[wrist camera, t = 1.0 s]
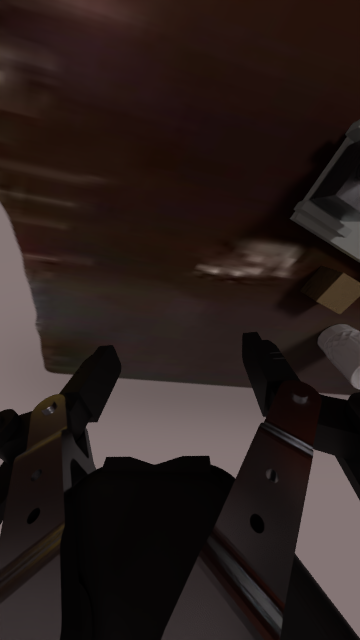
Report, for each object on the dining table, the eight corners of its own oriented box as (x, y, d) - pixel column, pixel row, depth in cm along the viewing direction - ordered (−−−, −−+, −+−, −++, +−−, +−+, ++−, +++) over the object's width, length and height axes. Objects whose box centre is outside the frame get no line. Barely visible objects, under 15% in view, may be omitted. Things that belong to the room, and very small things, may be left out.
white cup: (315, 325, 35) (355, 359, 27) (360, 317, 34) (418, 350, 25) (312, 355, 39) (347, 393, 30) (353, 349, 38) (401, 387, 29)
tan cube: (321, 265, 30) (343, 272, 26) (343, 278, 31) (368, 287, 26) (299, 290, 32) (316, 301, 28) (320, 302, 33) (340, 314, 29)
